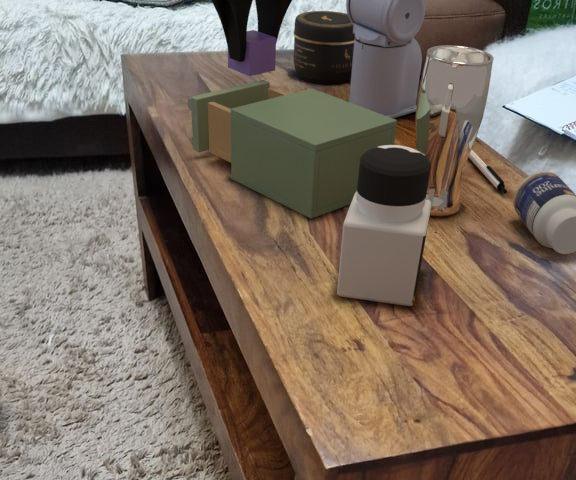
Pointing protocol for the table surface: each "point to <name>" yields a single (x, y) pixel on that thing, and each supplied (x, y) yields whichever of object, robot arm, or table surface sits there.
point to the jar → (323, 47)
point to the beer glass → (450, 118)
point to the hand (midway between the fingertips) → (252, 56)
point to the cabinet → (305, 148)
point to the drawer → (223, 114)
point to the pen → (488, 172)
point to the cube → (256, 54)
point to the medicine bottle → (386, 227)
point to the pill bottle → (548, 210)
